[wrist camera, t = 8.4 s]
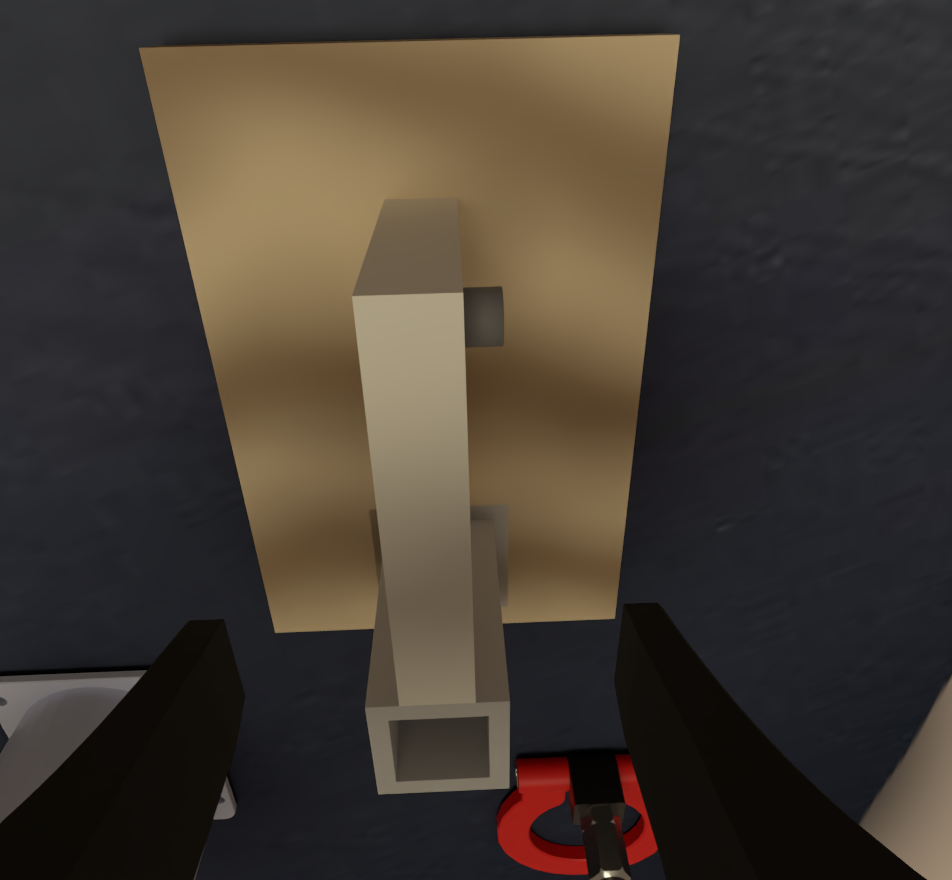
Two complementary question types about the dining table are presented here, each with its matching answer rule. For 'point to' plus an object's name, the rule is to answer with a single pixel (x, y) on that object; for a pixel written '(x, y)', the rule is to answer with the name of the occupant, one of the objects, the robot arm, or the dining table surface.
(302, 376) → the base board
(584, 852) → the tow hook
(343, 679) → the dining table surface
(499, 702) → the door
